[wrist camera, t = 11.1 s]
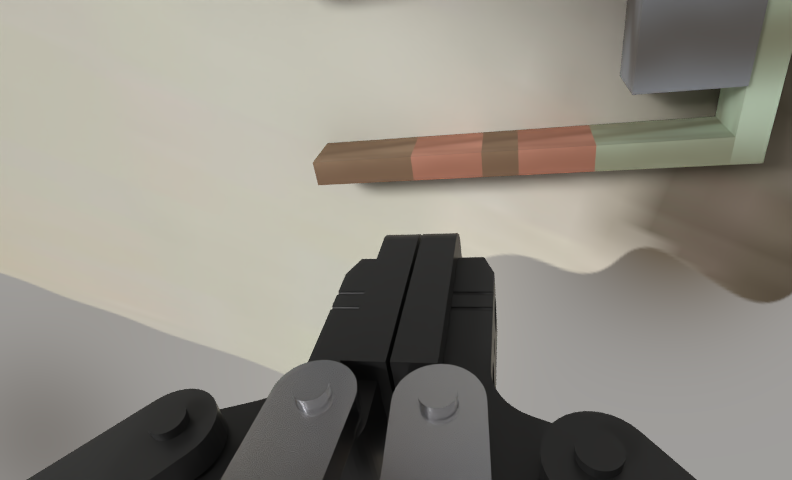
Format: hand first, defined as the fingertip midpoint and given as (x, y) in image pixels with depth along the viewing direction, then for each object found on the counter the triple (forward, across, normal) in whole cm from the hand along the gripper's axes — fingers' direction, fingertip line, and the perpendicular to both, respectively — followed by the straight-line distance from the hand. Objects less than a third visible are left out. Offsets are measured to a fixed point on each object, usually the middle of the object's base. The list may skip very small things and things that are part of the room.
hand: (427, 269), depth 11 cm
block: (+21, -10, 0) cm, 23 cm away
